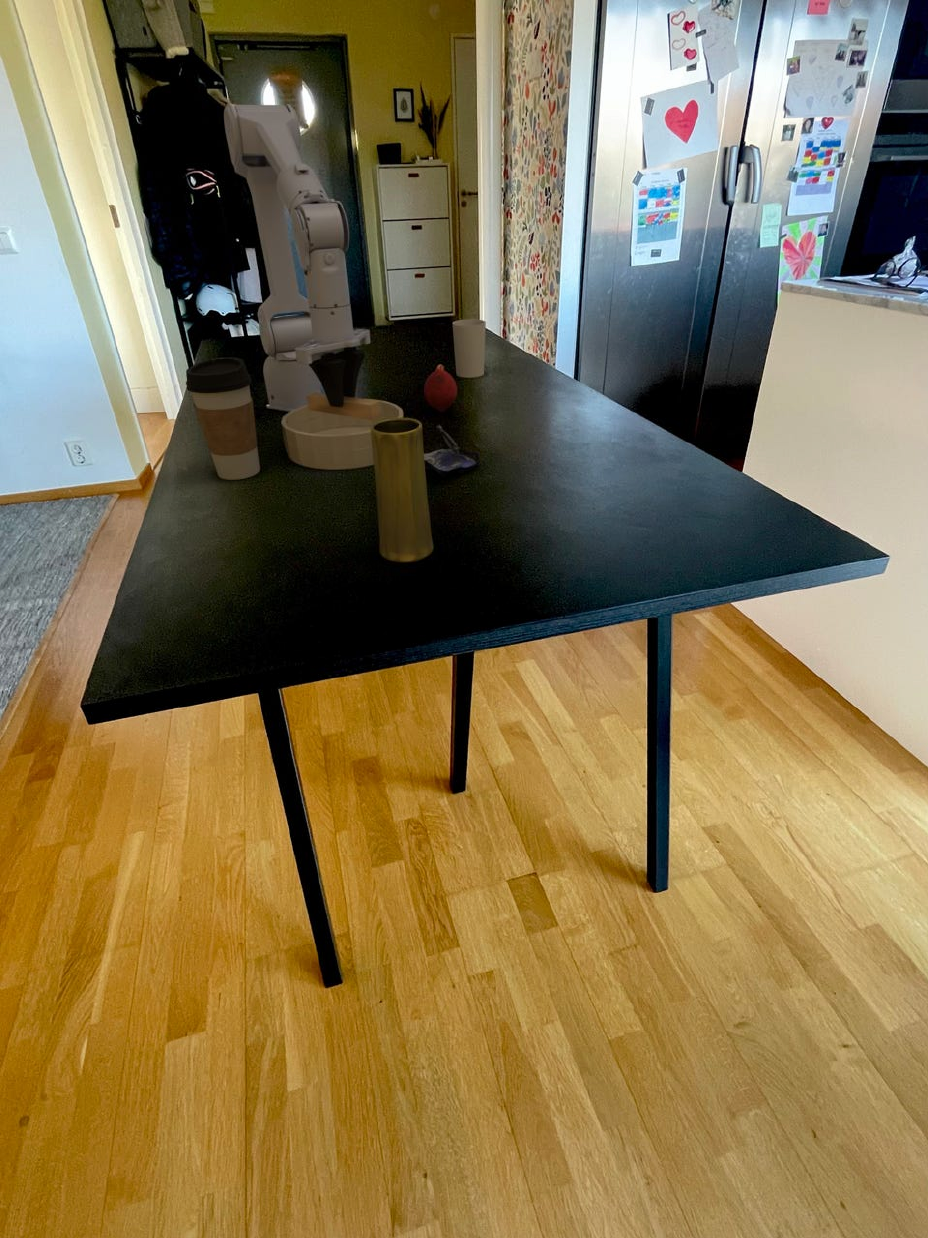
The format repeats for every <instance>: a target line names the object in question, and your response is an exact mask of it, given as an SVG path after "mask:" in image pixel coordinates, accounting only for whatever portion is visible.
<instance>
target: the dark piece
mask: <svg viewBox="0 0 928 1238" xmlns="http://www.w3.org/2000/svg"><path fill="white" fill-rule="evenodd" d="M430 428H433V425H432V426H430ZM435 428H436V430H437V431H438V432H439V434H442V438H443V439H444V441H445V443H446V445H447V446H448V447H449V448H448V449H445V448H444V449H443V448H441V449H438V450H434V451H432V452H429V453H428V452H427V453H424V463H425V470H433V471H435V472H436V473H437V474H439V475H440V476H441V477H442V478H444V477H445V476H447V474H449V473H451V472H452V471H455V470H457V471H458V472H459V473H460V475H462V474H464V473H465V472H468V471H469V472H470V471H471V470H473V469H474V468H475V467H476V466H477V465H479V464H481V460H480V456H479V453H478V452H475V451H473V452H470V451H468V450H467V449H462V448H461V447H460V446H459V444H458V443H457V442H455V441H454V439H453V438H452V437H451V436H450V434H449V433H447V432H446V431H445V430H444V428H442V426H441V425H440V423H438V424H437V425H436V426H435ZM453 477H454V478H455V477H456V475H455V476H453ZM441 482H442V483H443V482H444V480H441Z"/></svg>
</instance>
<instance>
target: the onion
mask: <svg viewBox="0 0 928 1238" xmlns="http://www.w3.org/2000/svg"><path fill="white" fill-rule="evenodd" d="M423 385H424V386H423V393H424V398H425V400H426V402H427V404H428V405H430V407H431V408H433V409H434V410H436V411H438V412H439V413H444V412H446V410H448V409H449V408H450V407H451V406H452V405H453V403H455V401H456V399H457V396H458V386H457V383H456V380H455V379H454V377H453V376H452V375H451V374H450V373H449V372H448V371H446V370H445V366H444V365H443V364H438V365H437V366H436V368H435V370H434V371H433V372H432V373H430V374H429V376H428V377H427V379H426V380H425V383H424V384H423Z"/></svg>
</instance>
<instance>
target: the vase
mask: <svg viewBox="0 0 928 1238" xmlns="http://www.w3.org/2000/svg"><path fill="white" fill-rule="evenodd" d="M371 438H372V447H373V458H374V465H373V467H374V478H375V494H376V508H377V510H376V511H377V524H378V536H379V545H378V546H379V548H378V549H379V550H378V551H379V555H380V556H381V557H382V558H384V559H385V560H388V561H390V562H394V563H401V564H402V563H403V564H404V563H405V564H406V563H414V562H415V563H416V562H418V561H422V560H424V559H426V558H427V557H429V556H430V555H432V553H433V551H434V548H435V547H434V545H435V544H434V541H433V536H432V527H431V515H430V508H429V500H428V499H429V498H428V487H427V476H426V469H425V463H424V454H425V452H424V451H425V450H424V439H423V438H424V437H423V424H422V422H421V421H420V420H418V419H415V418H412V417H411V418H410V417H404V418H388V419H383V420H380V421H377V422H375V423H373V424H372V425H371Z"/></svg>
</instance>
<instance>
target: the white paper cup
mask: <svg viewBox="0 0 928 1238" xmlns="http://www.w3.org/2000/svg"><path fill="white" fill-rule="evenodd" d="M486 325H487V321H486V320H483V319H473V318H472V319H470V318H469V319H460V320H458V319H457V320H455V321H453V322H452V332H453V347H454V360H455V361H454V362H455V373H456V374H455V375H456V376H457V377H459V378H466V379H467V378H469V379H470V378H471V379H473V378H479V377H482V376H484V375H485V360H486V359H485V356H486V327H487V326H486Z"/></svg>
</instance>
